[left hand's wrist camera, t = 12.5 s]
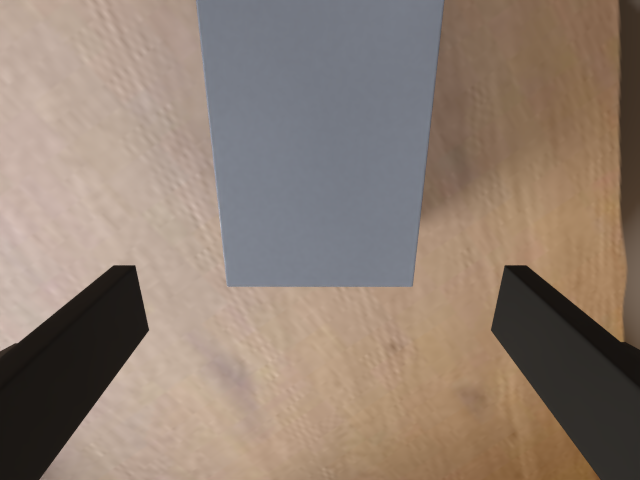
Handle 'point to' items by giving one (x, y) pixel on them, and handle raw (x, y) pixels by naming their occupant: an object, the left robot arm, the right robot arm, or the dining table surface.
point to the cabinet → (320, 136)
